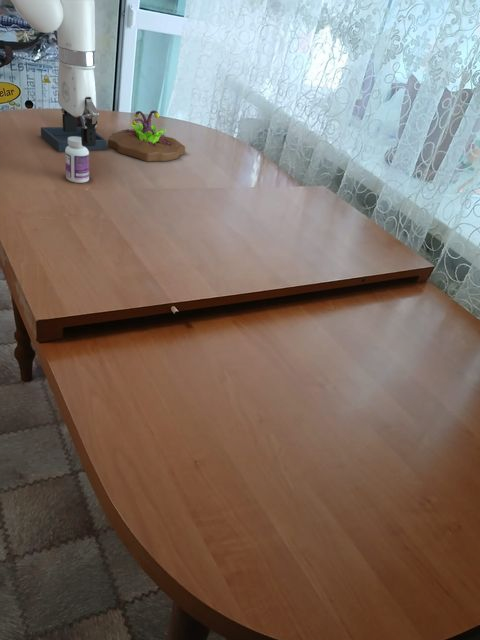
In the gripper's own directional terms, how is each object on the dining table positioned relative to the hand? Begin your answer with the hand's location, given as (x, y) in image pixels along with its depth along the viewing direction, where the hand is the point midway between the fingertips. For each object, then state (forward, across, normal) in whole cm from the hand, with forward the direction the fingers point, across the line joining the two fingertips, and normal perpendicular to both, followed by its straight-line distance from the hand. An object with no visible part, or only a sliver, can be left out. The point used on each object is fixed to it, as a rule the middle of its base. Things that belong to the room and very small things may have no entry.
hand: (79, 138), depth 126 cm
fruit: (+10, -36, +16) cm, 41 cm away
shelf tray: (+10, -24, +9) cm, 28 cm away
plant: (+10, -17, +28) cm, 35 cm away
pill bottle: (+10, 0, -1) cm, 10 cm away
